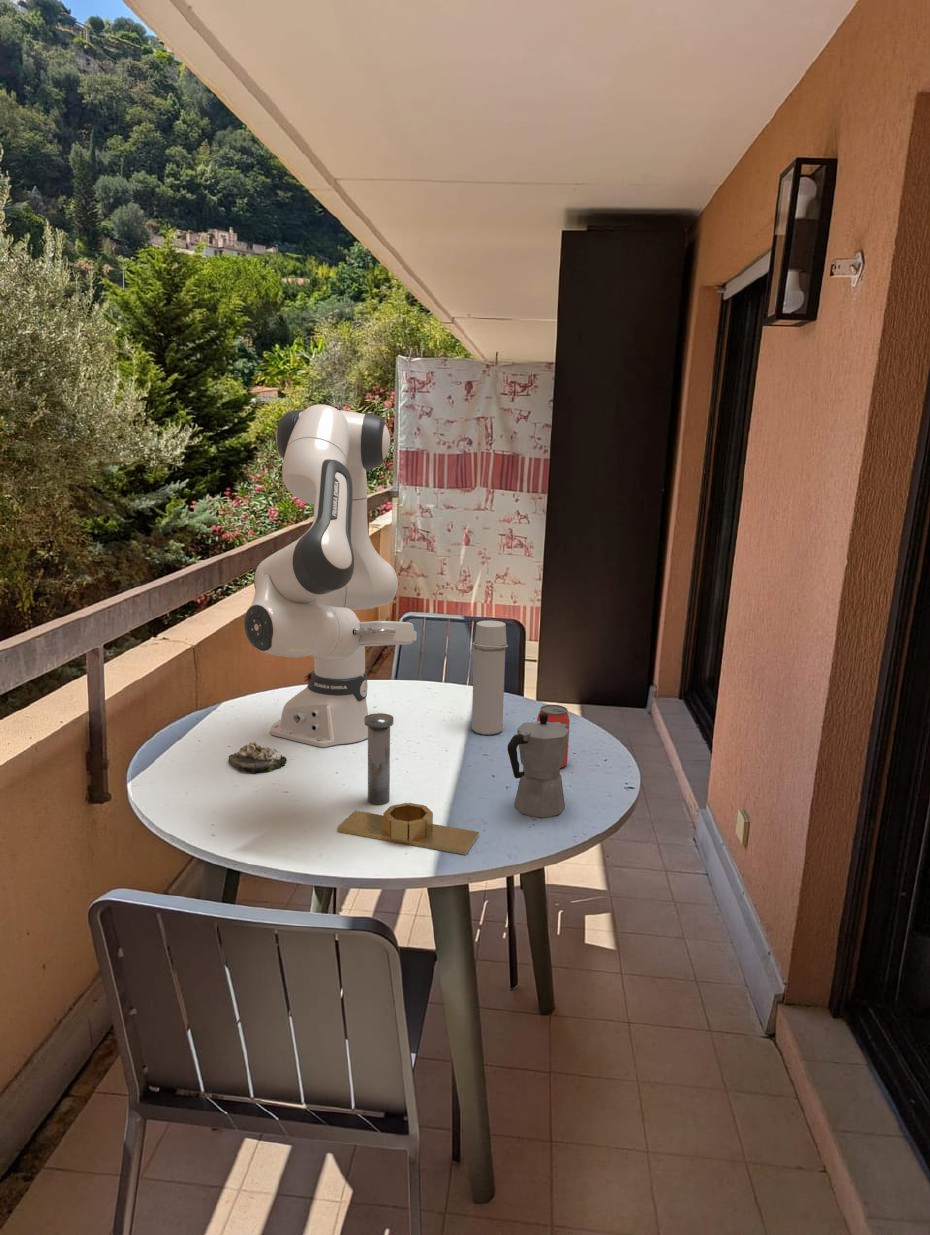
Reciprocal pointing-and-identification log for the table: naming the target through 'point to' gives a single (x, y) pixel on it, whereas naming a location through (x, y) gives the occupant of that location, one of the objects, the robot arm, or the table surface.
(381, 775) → the pin
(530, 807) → the coffeepot
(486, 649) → the water bottle
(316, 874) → the table surface
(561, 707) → the beer can
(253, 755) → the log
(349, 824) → the octagonal peg holder board
